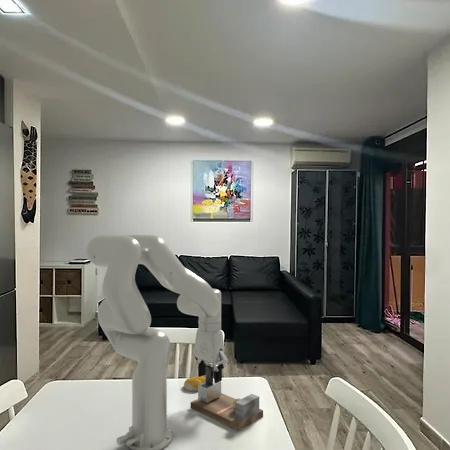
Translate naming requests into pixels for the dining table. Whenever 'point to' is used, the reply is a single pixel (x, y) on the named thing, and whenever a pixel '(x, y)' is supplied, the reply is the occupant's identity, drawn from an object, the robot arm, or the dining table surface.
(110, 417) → the dining table surface
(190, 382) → the bread roll
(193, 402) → the base
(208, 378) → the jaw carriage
